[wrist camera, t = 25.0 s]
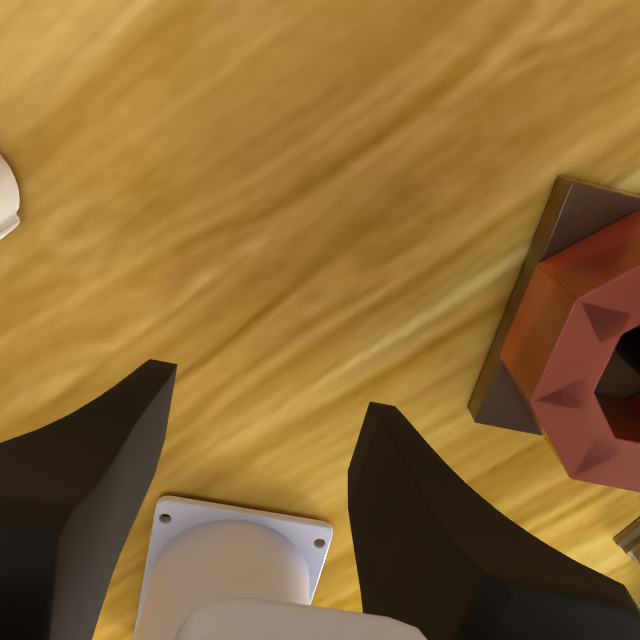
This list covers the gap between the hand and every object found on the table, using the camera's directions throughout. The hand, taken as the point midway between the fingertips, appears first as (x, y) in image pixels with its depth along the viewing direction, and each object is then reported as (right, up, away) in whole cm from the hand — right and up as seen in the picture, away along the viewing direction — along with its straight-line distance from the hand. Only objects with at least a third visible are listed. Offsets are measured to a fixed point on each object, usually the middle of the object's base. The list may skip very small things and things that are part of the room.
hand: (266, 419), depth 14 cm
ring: (+13, +2, +9) cm, 16 cm away
